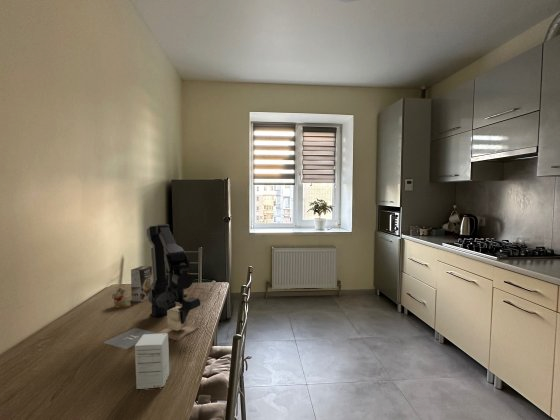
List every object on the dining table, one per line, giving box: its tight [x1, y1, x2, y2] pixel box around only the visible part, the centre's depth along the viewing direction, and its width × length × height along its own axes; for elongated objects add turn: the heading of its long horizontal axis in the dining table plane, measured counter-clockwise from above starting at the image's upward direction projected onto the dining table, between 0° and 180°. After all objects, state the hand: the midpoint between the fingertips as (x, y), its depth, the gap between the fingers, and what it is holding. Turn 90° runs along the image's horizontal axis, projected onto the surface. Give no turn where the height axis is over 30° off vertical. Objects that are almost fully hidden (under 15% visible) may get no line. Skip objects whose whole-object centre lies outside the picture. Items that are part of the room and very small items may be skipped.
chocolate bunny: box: [111, 286, 132, 309], centre depth 154 cm, size 6×8×10 cm
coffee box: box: [130, 265, 153, 303], centre depth 165 cm, size 9×6×16 cm
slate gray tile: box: [102, 327, 157, 350], centre depth 120 cm, size 14×12×1 cm
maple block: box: [166, 305, 188, 331], centre depth 124 cm, size 5×5×7 cm
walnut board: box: [155, 324, 199, 341], centre depth 125 cm, size 11×11×1 cm
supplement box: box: [134, 333, 171, 390], centre depth 91 cm, size 7×7×13 cm
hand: (177, 322), depth 124 cm, fingers closed on maple block, 5 cm apart
